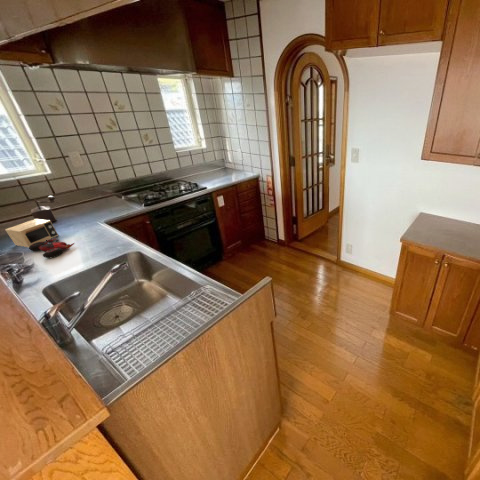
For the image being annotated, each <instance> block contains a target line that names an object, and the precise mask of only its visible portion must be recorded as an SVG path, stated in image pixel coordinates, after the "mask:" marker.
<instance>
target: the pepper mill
mask: <svg viewBox="0 0 480 480" xmlns="http://www.w3.org/2000/svg"><path fill="white" fill-rule="evenodd" d="M47 200H49V201H47ZM47 200H46V201H38V199H34V200H33V201H34V204H36V207H34V208H31V209H30V214H31V216H32V217H33V220H34V219H43V220H50V221H51V223H53V222H56V221H57V216H55V214H54V212H53V210H52V208H51V206H50V205H46V206H44V205H40V204H44V203H45V204H47V203H50V204H53V203H55V200H56V197H55V196H53V195H48V196H47Z"/></svg>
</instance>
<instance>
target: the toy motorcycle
mask: <svg viewBox="0 0 480 480" xmlns="http://www.w3.org/2000/svg"><path fill="white" fill-rule="evenodd" d="M73 245H75V242H73V243H67V242H65V241H59V239H58V238H57V237H54V238H52V239H49V240H47V241H44V242H37V243H34V244H32V245H31V246H30V247H28V250H29V251H32V252H37V251H42V252H43V254H42V257H43V258H44V259H51V258H50V257H52V258H55V257H54V256H56V257H58V256H60V255H62V254H63V253H64V250H69V249H70V248H72V246H73ZM59 254H60V255H59ZM57 255H58V256H57Z"/></svg>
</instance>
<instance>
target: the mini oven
mask: <svg viewBox="0 0 480 480" xmlns="http://www.w3.org/2000/svg"><path fill="white" fill-rule="evenodd" d="M4 230H5V232H6V233H7V235H8V236H9V238H10V239H11V241H12V242H13V244H14V245H15V246H16V245H17V246H18V247H23V246H24V248H29V247H30V246H31V245H32V244H34V243H37V242H46V240H47V241H48V240H51V238H52V239H54V238H57V237H58V235H59V234H58V232H57V230H56V228H55V226H54V225H53V222H51V221H50V220H43V219H34V218H33V219H31V220H28V221H26V222H23V223H20V224H16V225H14V226H10V227H8V228H5V229H4ZM56 236H57V237H56ZM53 237H54V238H53Z"/></svg>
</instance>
